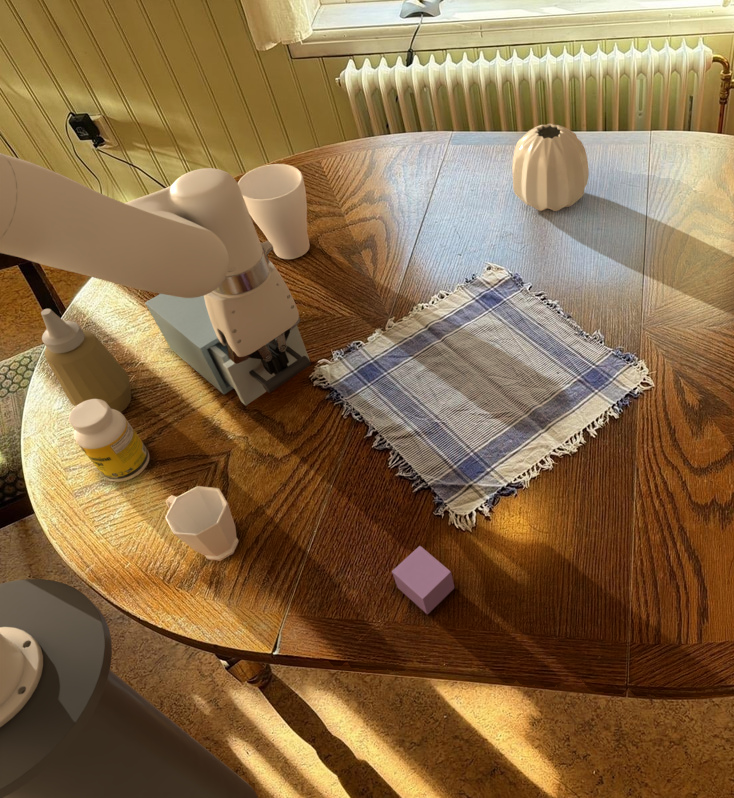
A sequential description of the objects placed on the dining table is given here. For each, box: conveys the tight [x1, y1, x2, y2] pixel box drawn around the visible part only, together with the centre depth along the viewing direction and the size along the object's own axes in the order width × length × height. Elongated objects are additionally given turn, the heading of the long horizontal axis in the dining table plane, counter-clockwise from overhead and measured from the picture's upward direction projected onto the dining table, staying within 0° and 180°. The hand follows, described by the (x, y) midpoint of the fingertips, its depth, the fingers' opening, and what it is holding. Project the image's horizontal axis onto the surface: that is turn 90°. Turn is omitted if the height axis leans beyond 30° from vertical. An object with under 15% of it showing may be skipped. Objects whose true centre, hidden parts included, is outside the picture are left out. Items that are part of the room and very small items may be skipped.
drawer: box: [207, 324, 312, 406], centre depth 107 cm, size 18×11×8 cm, turn 49°
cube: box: [391, 545, 455, 615], centre depth 86 cm, size 4×5×4 cm
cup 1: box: [164, 485, 240, 561], centre depth 90 cm, size 7×10×8 cm
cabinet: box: [144, 293, 234, 395], centre depth 111 cm, size 15×13×10 cm
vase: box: [511, 123, 590, 212], centre depth 133 cm, size 14×14×13 cm
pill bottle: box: [68, 399, 150, 483], centre depth 96 cm, size 6×6×11 cm
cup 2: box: [237, 163, 311, 260], centre depth 125 cm, size 10×10×14 cm
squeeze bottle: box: [40, 308, 132, 413], centre depth 101 cm, size 8×8×18 cm
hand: (279, 371), depth 105 cm, fingers closed
